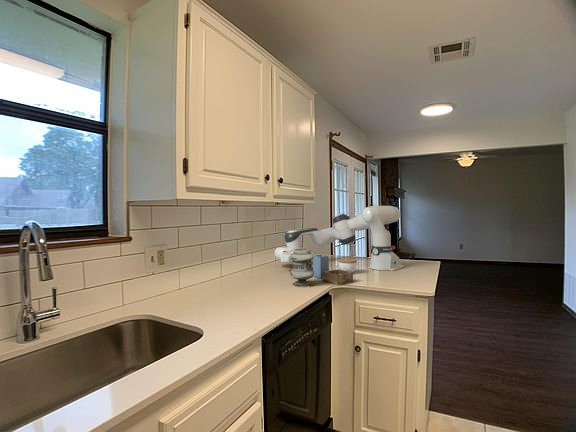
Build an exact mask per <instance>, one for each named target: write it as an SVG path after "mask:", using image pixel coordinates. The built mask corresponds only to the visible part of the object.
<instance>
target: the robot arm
mask: <svg viewBox="0 0 576 432" xmlns="http://www.w3.org/2000/svg"><path fill="white" fill-rule="evenodd" d="M350 217H351V216H350V215H349V216H348V215H347V214H346V213H339V214H336V215H335V216H333V218H332V224H333V226H334V227H326V228H323V229H321V230H320V229H318V228H316V227H310V228H302V229H296V230H293V229H292V230H288V231H287V232H286V233H284V236H283V237H284V241H285V244H286V247H285V246H280V247H278V246H277V248H275V250H274V257H275V258H276V259H277V260H278V261H280V262H281V263H289V264H293V261H292V260H291V258H290V256H291V254H293V250H294V249H298V248H303V245H302V239H301V237H304V236H309V238H310V239H311V241H312V243H313V244H314V245H316V246H317V247H325V246H327V245H329V244H332V243H334V242H335V241H337V240H338V242H337V243H340V244H342V245H344V246H345V245H346V246H347V245H352V244H353V243H354V242H355V241H356V240H357V238H356V235H355V232H356V231H357V232H359V231H360V232H361V231H365V230H368V229H370V232H371V244H372V245H371V247H370V248H371V254H370V261H369V265H368V267H369V269H372V270H377V271H396V270H399V269H402V268H404V267H405V266H404V265H403V264H401V263H400V257H399V256H398V255H397V254H396V253H395V252H393V250H395V249H396V245H391V244H392V242H391V240H392V239H391V235H392V234H391V233H390V231H389V230H387V229H386V228H385V225H388V224H392V223H395V222H398V221H399V220H400V218H401V212H400V209H399V208H398V207H396V206H392V205H371V206H367V207H364V208H363V210H362V212H361V213H359V214H356V215H355V216H353V217H352V218H350ZM354 231H355V232H354ZM311 253H312V254H313V256H315V254H314V252H311Z"/></svg>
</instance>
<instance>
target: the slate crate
mask: <svg viewBox="0 0 576 432" xmlns="http://www.w3.org/2000/svg"><path fill="white" fill-rule="evenodd" d="M329 263H330V261H329V255H326V254H314V258H313V260H312V266H313V267H312V268H313V269H312V270H313V271H314V276H313V277H312V278H314V279H318V280H323V272H325V271H330V266H329Z"/></svg>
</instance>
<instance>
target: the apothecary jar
mask: <svg viewBox="0 0 576 432" xmlns="http://www.w3.org/2000/svg"><path fill="white" fill-rule="evenodd" d="M312 253H313V252H311V249H310V248H307V247H302V248H298V249H294V250H293V254H291V256H290V258H291V260H292V261H293V263H292V269H291V271H290V276H291V278H293V279H295V280H297V281H294V282H292V285H293V286H294V287H300V288H307V287H310V286H312V285H313V283H312V282H311V281H309V279H312V278H314V277H313V276H314V271H313V269H312V268H313V267H312V266H313V264H312V261H313V258H314V256H315V255H314V256H313V254H314V253H313V254H312Z"/></svg>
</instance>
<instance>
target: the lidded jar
mask: <svg viewBox="0 0 576 432" xmlns="http://www.w3.org/2000/svg"><path fill="white" fill-rule="evenodd" d="M337 261H338V269H339V270H344V271H349V272H353V273H354V272H355V271H356V269H357V266H358V264H357V263H358V260H357V259H355V258H349V256H346V258H339V259H338V260H337Z"/></svg>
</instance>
